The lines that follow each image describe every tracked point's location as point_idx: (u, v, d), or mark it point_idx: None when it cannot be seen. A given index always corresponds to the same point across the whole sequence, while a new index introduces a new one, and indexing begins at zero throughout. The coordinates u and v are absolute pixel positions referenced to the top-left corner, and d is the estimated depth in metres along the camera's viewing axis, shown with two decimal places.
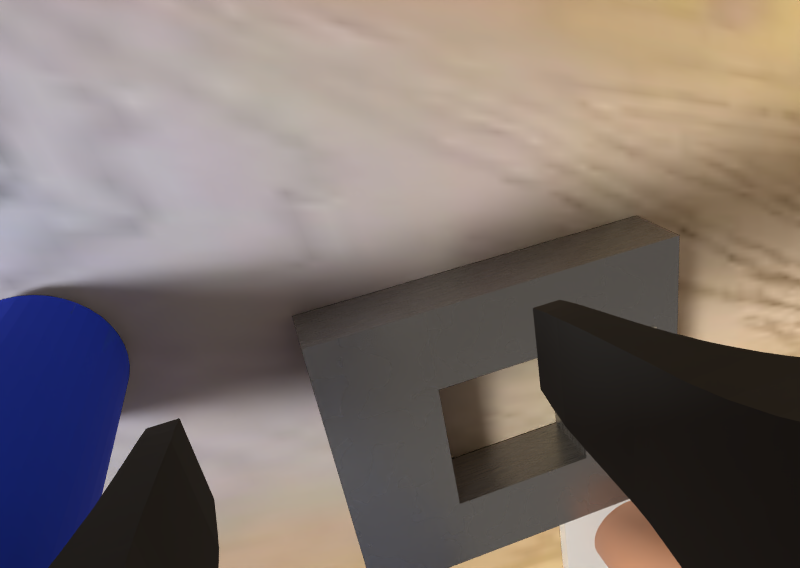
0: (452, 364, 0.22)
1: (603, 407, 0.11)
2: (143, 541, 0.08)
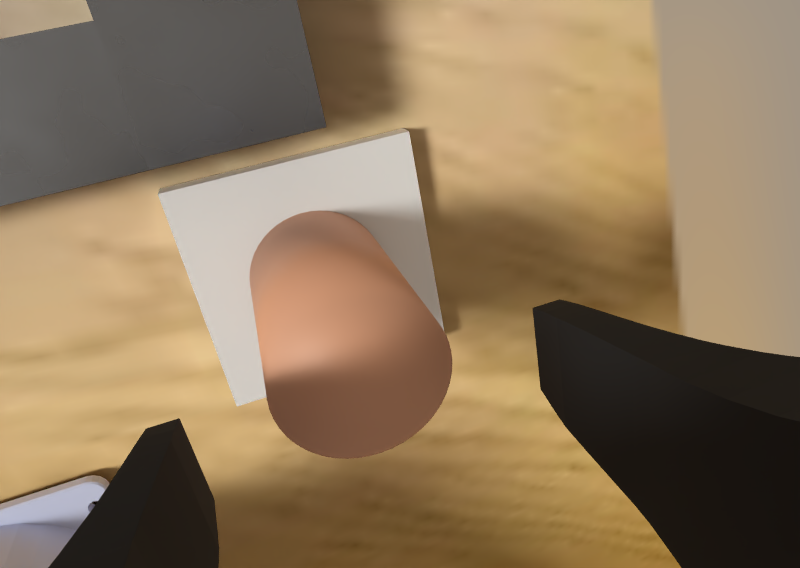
0: None
1: (603, 407, 0.11)
2: (143, 541, 0.08)
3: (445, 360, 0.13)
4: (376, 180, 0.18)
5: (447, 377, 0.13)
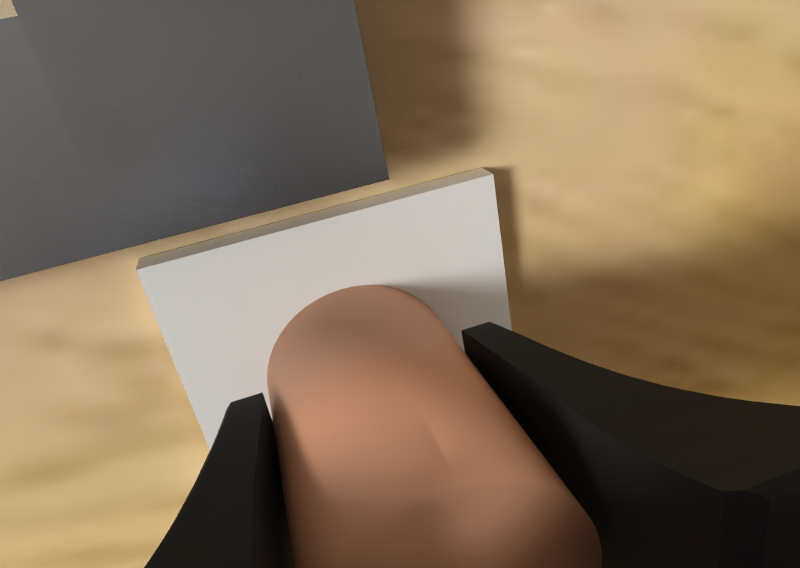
0: None
1: None
2: (258, 502, 0.08)
3: (591, 566, 0.08)
4: (445, 242, 0.13)
5: None
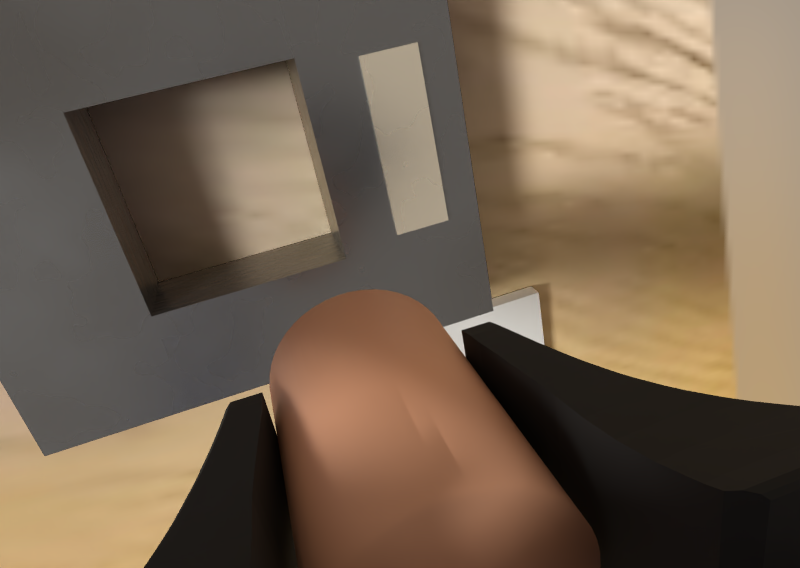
0: (75, 68, 0.14)
1: None
2: (257, 502, 0.08)
3: (590, 564, 0.08)
4: (512, 328, 0.23)
5: None
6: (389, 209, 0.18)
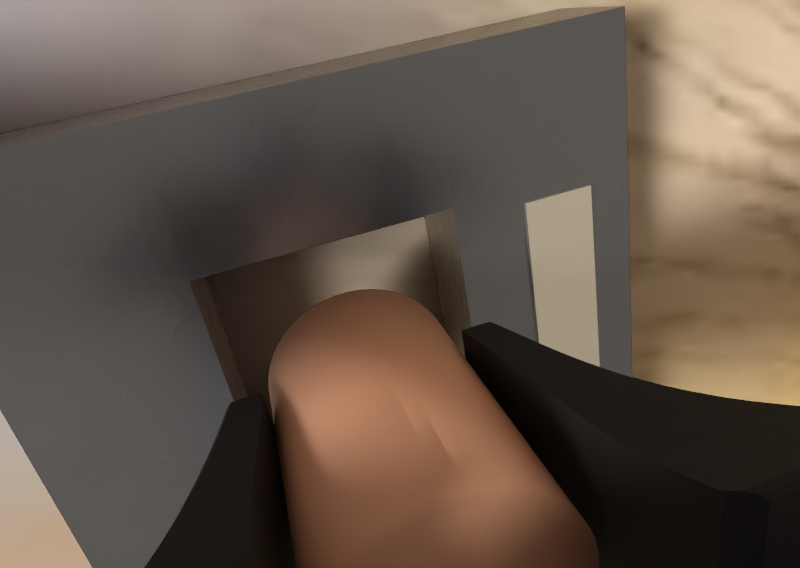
0: (207, 232, 0.12)
1: (522, 435, 0.10)
2: (258, 502, 0.08)
3: (589, 564, 0.08)
4: None
5: None
6: None
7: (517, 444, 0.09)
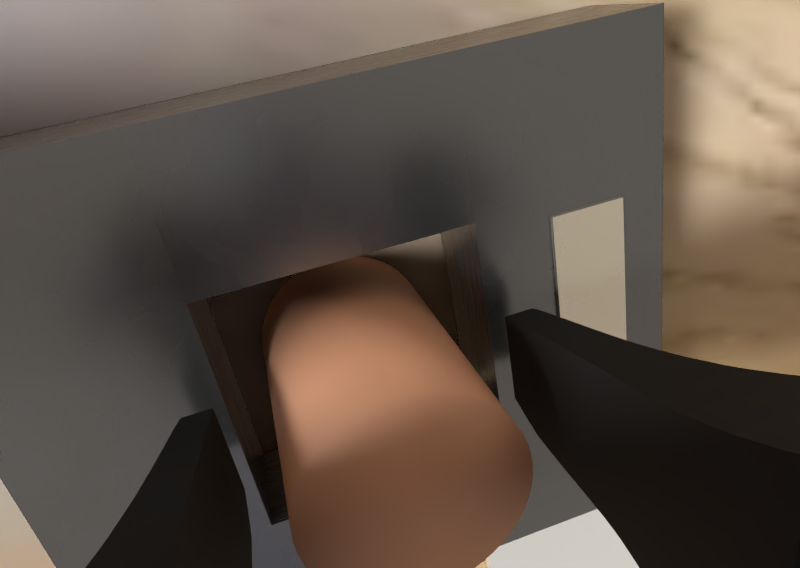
0: (207, 251, 0.11)
1: (572, 418, 0.11)
2: (189, 525, 0.08)
3: (524, 466, 0.10)
4: None
5: (527, 486, 0.10)
6: None
7: (466, 369, 0.10)
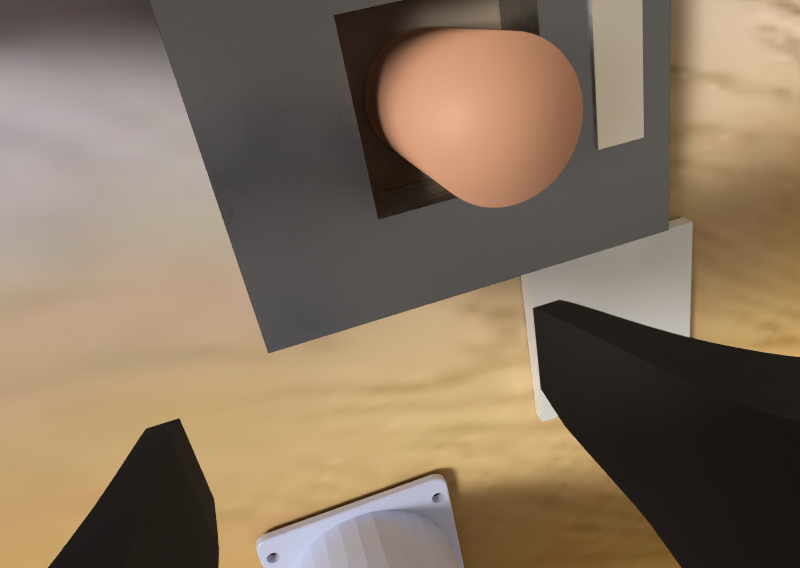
0: None
1: (603, 407, 0.11)
2: (143, 541, 0.08)
3: (577, 106, 0.15)
4: (665, 256, 0.24)
5: (578, 125, 0.15)
6: (594, 124, 0.19)
7: None
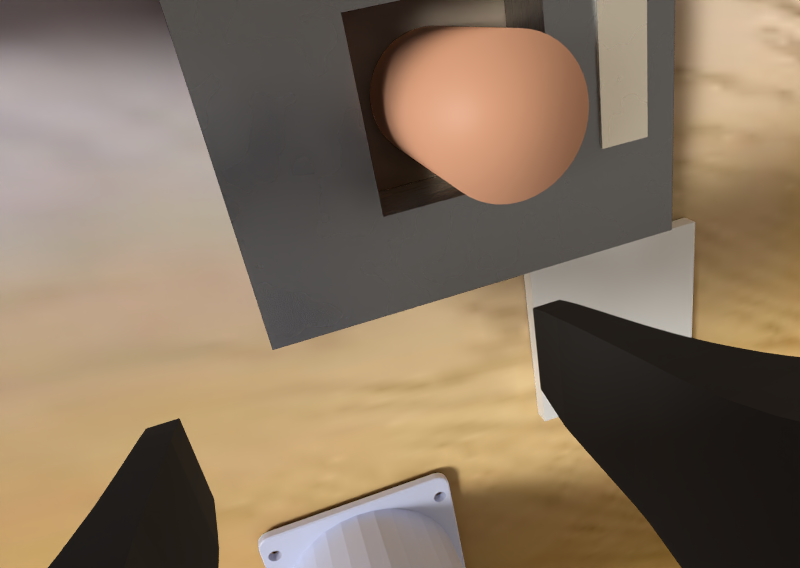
0: None
1: (603, 407, 0.11)
2: (143, 541, 0.08)
3: (583, 104, 0.15)
4: (667, 256, 0.24)
5: (584, 122, 0.15)
6: (598, 123, 0.19)
7: None
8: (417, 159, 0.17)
